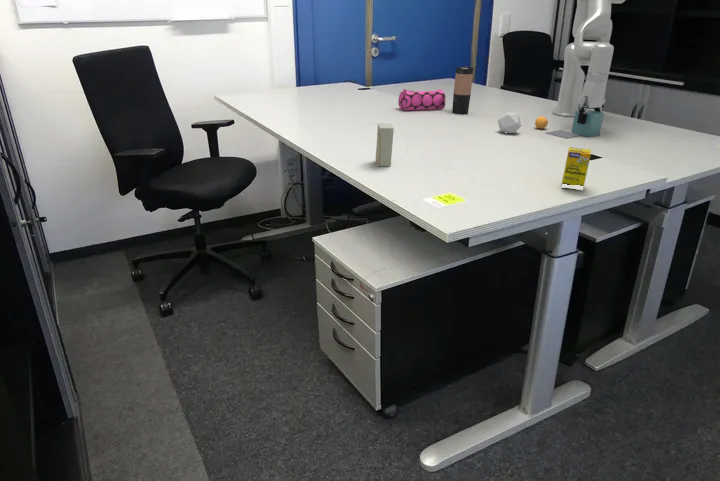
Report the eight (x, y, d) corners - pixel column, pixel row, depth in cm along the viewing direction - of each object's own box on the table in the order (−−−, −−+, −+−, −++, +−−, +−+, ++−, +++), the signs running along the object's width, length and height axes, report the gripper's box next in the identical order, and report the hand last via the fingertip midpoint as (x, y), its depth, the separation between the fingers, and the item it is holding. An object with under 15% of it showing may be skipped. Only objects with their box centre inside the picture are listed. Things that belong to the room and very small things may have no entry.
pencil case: (405, 113, 245) (406, 90, 241) (396, 109, 253) (397, 87, 249) (447, 111, 252) (449, 89, 248) (437, 107, 261) (439, 85, 256)
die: (523, 134, 217) (516, 112, 218) (523, 128, 209) (516, 105, 210) (502, 140, 219) (496, 118, 220) (502, 134, 210) (495, 111, 212)
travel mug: (468, 115, 245) (473, 69, 236) (451, 113, 246) (455, 68, 238) (468, 111, 252) (473, 66, 243) (452, 110, 253) (456, 66, 245)
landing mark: (560, 130, 223) (560, 129, 223) (581, 135, 216) (581, 135, 216) (545, 133, 217) (545, 132, 217) (566, 138, 210) (566, 138, 210)
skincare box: (375, 160, 174) (377, 123, 169) (389, 160, 175) (391, 123, 170) (377, 166, 169) (379, 127, 164) (391, 166, 169) (393, 127, 164)
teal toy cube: (582, 130, 224) (586, 109, 220) (599, 134, 218) (604, 112, 214) (571, 132, 219) (575, 111, 216) (588, 137, 214) (593, 114, 210)
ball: (539, 126, 228) (541, 114, 226) (549, 129, 224) (551, 117, 222) (531, 128, 225) (533, 116, 223) (541, 130, 221) (543, 118, 219)
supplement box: (560, 188, 155) (568, 151, 150) (561, 182, 160) (568, 146, 156) (583, 191, 153) (591, 154, 149) (583, 185, 158) (591, 148, 154)
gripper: (600, 75, 217) (591, 118, 224) (575, 77, 207) (567, 122, 214) (618, 78, 211) (608, 122, 218) (593, 80, 202) (584, 126, 209)
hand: (588, 122), depth 216 cm, fingers open, 9 cm apart
